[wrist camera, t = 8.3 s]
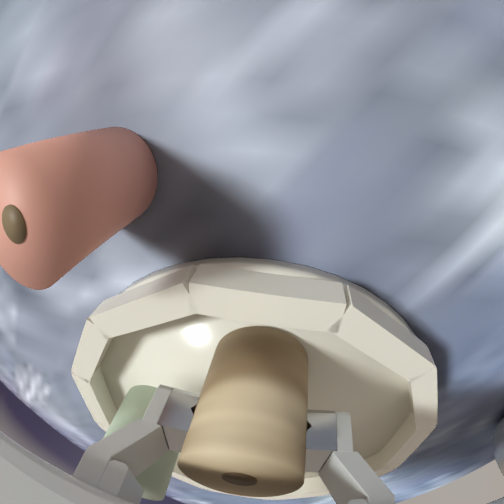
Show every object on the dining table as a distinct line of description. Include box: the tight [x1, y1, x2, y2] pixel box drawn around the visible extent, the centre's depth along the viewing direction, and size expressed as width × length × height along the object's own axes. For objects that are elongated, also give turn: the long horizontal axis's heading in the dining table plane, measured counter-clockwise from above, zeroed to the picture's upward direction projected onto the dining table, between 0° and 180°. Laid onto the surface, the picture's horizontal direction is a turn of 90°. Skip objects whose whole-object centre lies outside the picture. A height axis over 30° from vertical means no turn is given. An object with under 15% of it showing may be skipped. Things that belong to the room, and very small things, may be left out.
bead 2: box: [103, 385, 179, 501], centre depth 12 cm, size 4×4×5 cm
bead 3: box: [177, 326, 308, 497], centre depth 9 cm, size 4×4×5 cm
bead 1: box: [0, 127, 158, 290], centre depth 8 cm, size 4×4×5 cm
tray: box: [71, 257, 438, 500], centre depth 14 cm, size 18×18×2 cm
